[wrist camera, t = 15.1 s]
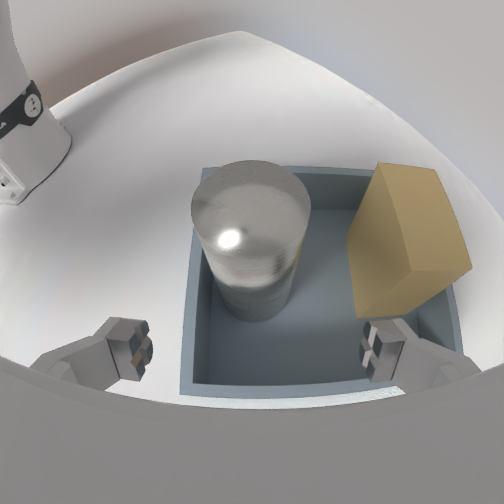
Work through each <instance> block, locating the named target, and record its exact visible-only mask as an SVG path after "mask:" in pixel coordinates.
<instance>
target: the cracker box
mask: <svg viewBox="0 0 504 504" xmlns="http://www.w3.org/2000/svg"><path fill="white" fill-rule="evenodd" d="M345 240H346V246H347V252H348V258H349V265H350V272H351V279H352V286H353V294H354V302H355V311H356V319H364V318H376V317H387V316H398V315H406V314H408V313H409V312H411V311H412V310H414V309H415V308H417V307H419V306H420V305H422V304H423V303H425V302H426V301H428V300H429V299H431V298H432V297H434V296H435V295H437V294H438V293H439V292H441V291H442V290H444V289H445V288H447V287H448V286H449V285H451V284H452V283H453V282H455V281H456V280H457V279H459V278H460V277H461V276H463V275H464V274H465V273H467V272H468V271H469V270H471V269H472V264H471V261H470V258H469V254H468V251H467V248H466V245H465V242H464V239H463V236H462V233H461V230H460V228H459V225H458V222H457V219H456V217H455V214H454V212H453V209H452V207H451V204H450V202H449V200H448V197H447V195H446V193H445V190H444V188H443V186H442V184H441V182H440V179H439V177H438V175H437V173H436V171H435V170H434V169H428V168H421V167H414V166H406V165H398V164H390V163H380V162H378V164H377V167H376V169H375V172H374V174H373V176H372V179H371V181H370V183H369V186H368V188H367V190H366V193H365V195H364V197H363V199H362V202H361V204H360V206H359V208H358V210H357V213H356V215H355V217H354V219H353V221H352V223H351V225H350V227H349V230H348V232H347V234H346V236H345Z"/></svg>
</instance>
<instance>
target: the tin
mask: <svg viewBox="0 0 504 504" xmlns="http://www.w3.org/2000/svg"><path fill="white" fill-rule="evenodd" d="M310 210H311V203H310V198H309V194H308V192H307V190H306V188H305V186H304V184H303V183H302V182H301V181H300V179H299V178H298V177H297V176H296V175H294V174H293V173H292V172H290V171H289V170H287V169H285V168H284V167H281V166H279V165H277V164H274V163H270V162H266V161H258V160H247V161H239V162H234V163H231V164H228V165H225V166H223V167H221V168H219V169H217V170H215V171H214V172H212V173H211V174H209V175H208V176H207V177H206V178H205V179H204V180H203V181H202V182H201V183H200V185H199V186H198V188H197V189H196V191H195V193H194V196H193V199H192V203H191V216H192V220H193V223H194V226H195V229H196V231H197V234H198V237H199V239H200V242H201V245H202V247H203V250H204V253H205V255H206V258H207V260H208V263H209V265H210V268H211V271H212V273H213V276H214V278H215V281H216V283H217V286H218V288H219V291H220V293H221V295H222V298H223V300H224V303H225V305H226V307H227V308H228V310H229V311H230V312H231V313H232V314H233V315H234V316H236V317H237V318H239V319H241V320H243V321H246V322H253V323H257V322H264V321H267V320H270V319H272V318H273V317H275V316H276V315H278V314H279V313H280V312H281V310H282V309H283V308H284V306H285V304H286V302H287V299H288V296H289V292H290V289H291V285H292V281H293V278H294V274H295V271H296V267H297V263H298V259H299V256H300V252H301V248H302V244H303V240H304V237H305V233H306V229H307V225H308V221H309V217H310Z"/></svg>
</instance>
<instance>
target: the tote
mask: <svg viewBox="0 0 504 504" xmlns="http://www.w3.org/2000/svg"><path fill="white" fill-rule="evenodd" d="M281 167H284V168H285V169H287V170H289V171H290V172H292V173H293V174H294V175H296V176H297V177H298V178H299V179H300V181H301V182H302V183H303V184H304V186H305V188H306V190H307V192H308V194H309V198H310V203H311V210H310V217H309V221H308V225H307V229H306V233H305V237H304V240H303V244H302V248H301V252H300V256H299V259H298V263H297V267H296V271H295V274H294V278H293V281H292V285H291V289H290V292H289V296H288V299H287V302H286V304H285V306H284V308H283V309H282V310H281V312H280V313H279V314H278V315H276V316H275V317H273V318H272V319H270V320H267V321H264V322H257V323H253V322H246V321H243V320H241V319H239V318H237V317H236V316H234V315H233V314H232V313H231V312H230V311H229V310H228V308H227V307H226V305H225V303H224V300H223V298H222V295H221V293H220V291H219V288H218V286H217V283H216V281H215V278H214V276H213V273H212V271H211V268H210V265H209V263H208V260H207V258H206V255H205V253H204V250H203V247H202V245H201V242H200V239H199V237H198V234H197V231H196V229H195V226H194V229H193V237H192V245H191V253H190V261H189V270H188V280H187V289H186V300H185V311H184V323H183V337H182V352H181V370H180V395H190V396H201V397H216V398H242V399H274V398H300V397H315V396H327V395H337V394H346V393H354V392H361V391H368V390H374V389H380V388H386V387H391V386H396V385H395V384H393V383H392V382H391V381H387V382H380V383H372V384H371V383H370V381H369V379H368V377H367V374H366V369H367V368H366V367H365V366H363V365H362V364H361V361H360V358H359V347H360V342H361V341H362V339H363V338H364V337H365V335H364V334H363V328H364V325H365V323H366V322H371V321H381V320H389V319H396V318H401V319H403V320H404V321H405V322H406V323H407V324H408V326H409V327H410V328H411V329H412V330H413V332H414V333H415V334H416V335H417V336H418V337H419V339H421V338H423V339H426V340H428V341H430V342H433V343H435V344H438V345H440V346H442V347H445V348H447V349H450V350H452V351H455V352H457V353H459V354H462V355H464V354H463V345H462V337H461V330H460V323H459V317H458V312H457V306H456V301H455V296H454V292H453V287H452V284H451V285H449V286H448V287H447V288H445V289H444V290H442V291H441V292H439V293H438V294H437V295H435V296H434V297H432V298H431V299H429V300H428V301H426V302H425V303H423V304H422V305H420V306H419V307H417V308H415V309H414V310H412V311H411V312H409V313H408V314H406V315H398V316H387V317H376V318H364V319H356V311H355V302H354V294H353V286H352V279H351V272H350V265H349V258H348V252H347V246H346V240H345V236H346V234H347V232H348V230H349V227H350V225H351V223H352V221H353V219H354V217H355V215H356V213H357V210H358V208H359V206H360V204H361V202H362V199H363V197H364V195H365V193H366V190H367V188H368V186H369V183H370V181H371V179H372V176H373V174H374V172H375V170H363V169H348V168H330V167H303V166H281ZM219 168H221V167H213V168H203V170H202V176H201V182H202V181H203V180H204V179H205V178H206V177H207V176H208V175H209V174H211V173H212V172H214V171H215V170H217V169H219ZM201 182H200V183H201Z"/></svg>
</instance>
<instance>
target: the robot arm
mask: <svg viewBox="0 0 504 504" xmlns="http://www.w3.org/2000/svg"><path fill="white" fill-rule="evenodd" d="M70 145H71V136H70V135H69V134H68V133H67V132H66V131H65V129H64V126H63V125H62V124H59V123H58V121H57V120H56V118H55V117H54V116H53V114H52V113H51V111H50V110H49V109H48V107H47V106H46V104H45V103H44V102H43V101H42V100H41V94H40V92H39V90H38V87H37V85H35V83H34V81H33V80H30V78H29V76H28V74H27V72H26V70H25V68H24V65H23V63H22V61H21V58H20V56H19V54H18V51H17V49H16V46H15V43H14V39H13V33H12V27H11V20H10V12H9V6H8V0H0V203H8V204H19V203H20V202H21V201H22V200H23V199H24V198H25V197H26V196H27V194H28V193H29V192H30V191H31V190H32V189H33V188H34V187H36V186H37V185H38V184H39V183H41V182H42V181H43V180H44V179H45V178H46V177H48V176H49V175H50V174H51V173H52V172H53V170H54V169H55V168H56V167H57V166H58V165H59V163H60V162H61V161H62V160H63V158H64V157H65V155H66V153H67V152H68V150H69V148H70ZM148 332H149V327H148V323H147V322H146V321H145V320H137V319H128V318H121V317H110V318H109V319H108V320H107V321H106V322H105V323H104V324H103V325H102V326H101V327H100V329H99V330H98V331H97V332H96V333H95V334H94V335H93V336H88V337H85V338H83V339H80V340H78V341H75V342H73V343H70V344H68V345H65V346H62V347H60V348H57V349H55V350H52V351H49V352H47V353H44V354H42V355H41V356H40V357H39V358H38V359H37V360H36V361H35V362H34V363H33V364H32V365H31V366H30V367H29V368H28V367H25V366H23V365H20V364H18V363H16V362H13V361H11V360H9V359H6V358H4V357H2V356H0V504H504V363H503V364H501V365H498V366H496V367H493V368H491V369H488V370H485V371H483V372H482V371H481V370H480V369H479V368H478V367H477V365H476V364H475V363H474V362H473V361H472V360H471V359H470V358H469V357H467V356H464V355H462V354H459V353H457V352H455V351H452V350H450V349H447V348H445V347H442V346H440V345H438V344H435V343H433V342H430V341H428V340H426V339H423V338H421V339H419V337H418V336H417V335H416V334H415V333H414V332H413V330H412V329H411V328H410V327H409V326H408V324H407V323H406V322H405V321H404V320H403V319H401V318H396V319H389V320H381V321H371V322H366V323H365V325H364V328H363V334H364V335H365V337H364V338H363V339H362V341H361V342H360V347H359V358H360V361H361V364H362V365H363V366H365V367H366V368H367V369H366V374H367V377H368V379H369V381H370V383H371V384H372V383H380V382H387V381H391V382H392V383H393V384H395V385H396V386H397V387H399V388H400V389H401V390H403V391H404V392H405V393H407V394H404V395H399V396H394V397H389V398H384V399H378V400H372V401H366V402H359V403H352V404H344V405H335V406H325V407H312V408H296V409H228V408H211V407H199V406H189V405H180V404H172V403H164V402H158V401H151V400H145V399H140V398H134V397H129V396H124V395H119V394H115V393H110V392H106V391H104V390H106V389H107V388H109V387H110V386H112V385H113V384H114V383H116V382H117V381H119V380H120V379H125V380H132V381H139V382H140V380H141V378H142V376H143V375H144V373H145V371H146V370H145V365H147V364H149V363H150V361H151V359H152V354H153V345H152V340H151V339H150V338H149V337H148V336H147V334H148Z"/></svg>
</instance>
